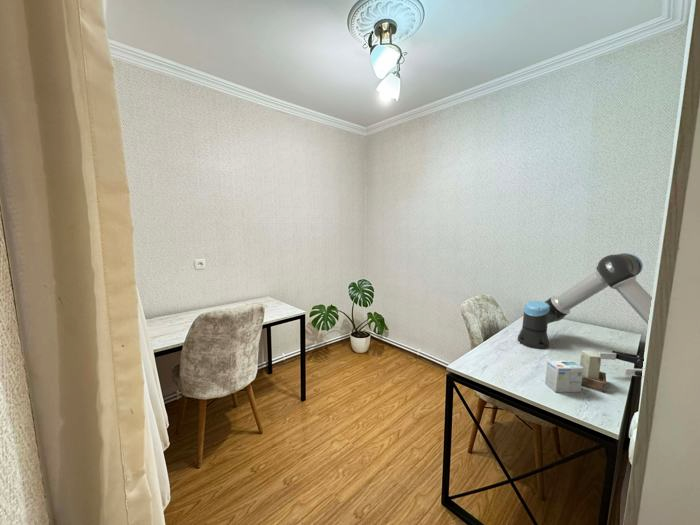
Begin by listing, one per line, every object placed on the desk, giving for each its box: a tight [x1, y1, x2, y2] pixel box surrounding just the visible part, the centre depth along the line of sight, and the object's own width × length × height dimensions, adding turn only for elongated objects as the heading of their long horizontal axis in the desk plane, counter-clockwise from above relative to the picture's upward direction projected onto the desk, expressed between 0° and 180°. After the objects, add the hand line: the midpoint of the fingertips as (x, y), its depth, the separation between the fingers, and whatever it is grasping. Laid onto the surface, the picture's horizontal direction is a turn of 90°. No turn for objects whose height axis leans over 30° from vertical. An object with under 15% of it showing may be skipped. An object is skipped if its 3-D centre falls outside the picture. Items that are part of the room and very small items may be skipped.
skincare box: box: [579, 349, 602, 380], centre depth 122 cm, size 6×4×12 cm
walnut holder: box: [581, 370, 607, 394], centre depth 122 cm, size 11×11×4 cm
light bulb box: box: [544, 359, 583, 393], centre depth 117 cm, size 11×7×11 cm, turn 92°
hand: (611, 363), depth 120 cm, fingers open, 13 cm apart
